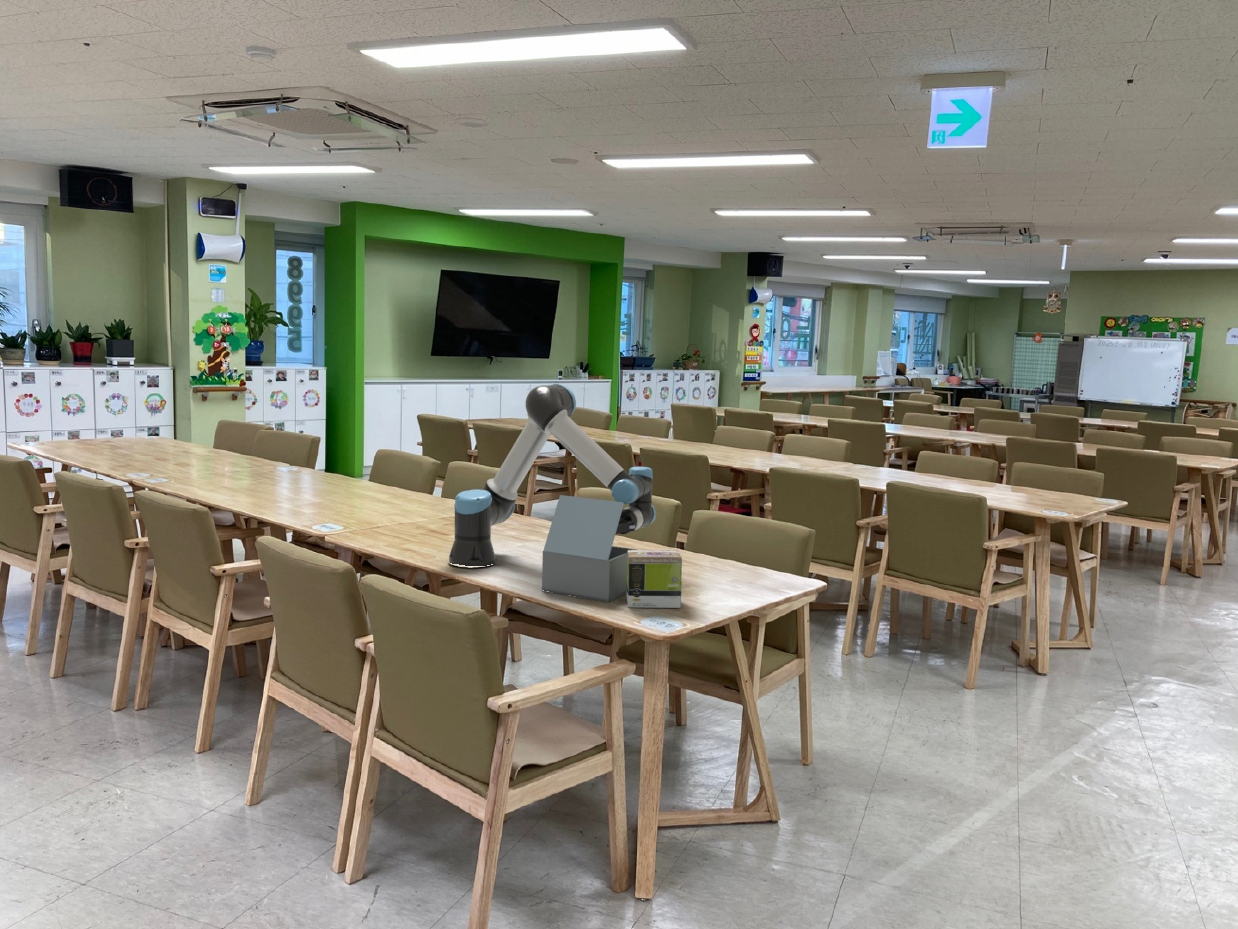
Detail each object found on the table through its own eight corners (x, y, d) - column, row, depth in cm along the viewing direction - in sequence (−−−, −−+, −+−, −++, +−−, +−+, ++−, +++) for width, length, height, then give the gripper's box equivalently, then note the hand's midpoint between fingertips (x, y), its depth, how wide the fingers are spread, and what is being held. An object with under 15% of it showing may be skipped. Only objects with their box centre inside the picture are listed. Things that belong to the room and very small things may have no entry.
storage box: (541, 591, 277) (542, 551, 276) (572, 578, 293) (573, 540, 292) (608, 602, 268) (609, 561, 266) (636, 588, 283) (637, 549, 282)
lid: (544, 551, 276) (543, 550, 275) (560, 495, 281) (560, 495, 281) (608, 560, 266) (607, 560, 266) (624, 503, 272) (623, 502, 272)
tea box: (677, 599, 273) (679, 549, 271) (680, 609, 263) (683, 557, 261) (625, 598, 273) (627, 548, 271) (626, 608, 263) (628, 556, 261)
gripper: (645, 534, 292) (611, 548, 271) (607, 530, 298) (571, 543, 276) (646, 510, 291) (612, 523, 270) (608, 506, 297) (571, 518, 276)
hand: (591, 533), depth 273 cm, fingers closed
